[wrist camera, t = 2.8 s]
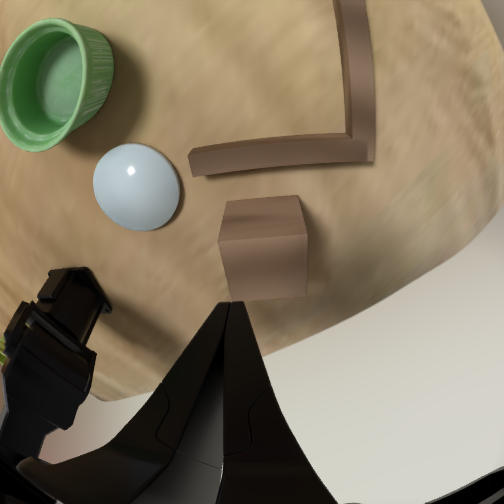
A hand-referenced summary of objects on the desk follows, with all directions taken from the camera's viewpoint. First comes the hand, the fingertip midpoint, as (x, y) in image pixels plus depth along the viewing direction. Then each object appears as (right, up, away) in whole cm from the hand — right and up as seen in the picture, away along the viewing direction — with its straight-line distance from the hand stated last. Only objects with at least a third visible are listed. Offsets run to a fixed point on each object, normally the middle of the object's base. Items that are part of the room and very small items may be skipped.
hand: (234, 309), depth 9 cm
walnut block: (+2, +4, +12) cm, 12 cm away
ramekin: (-12, +14, +4) cm, 19 cm away
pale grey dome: (-8, +7, +10) cm, 14 cm away
